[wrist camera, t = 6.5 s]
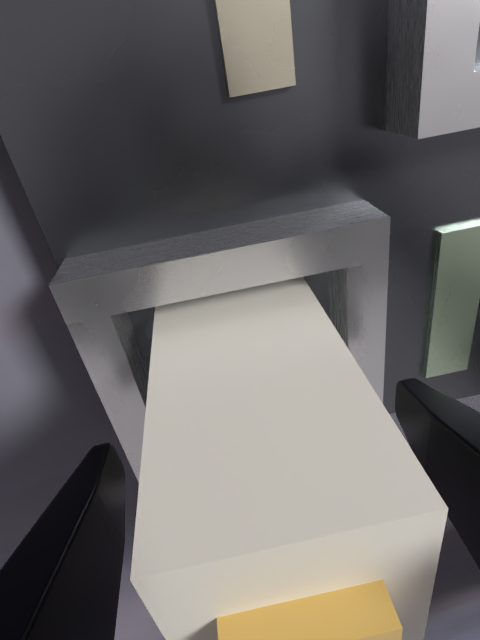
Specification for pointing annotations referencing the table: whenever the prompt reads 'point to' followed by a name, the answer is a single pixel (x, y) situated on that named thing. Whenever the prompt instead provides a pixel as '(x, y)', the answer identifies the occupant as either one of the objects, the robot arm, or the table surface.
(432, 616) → the table surface
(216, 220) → the panel
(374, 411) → the plug
